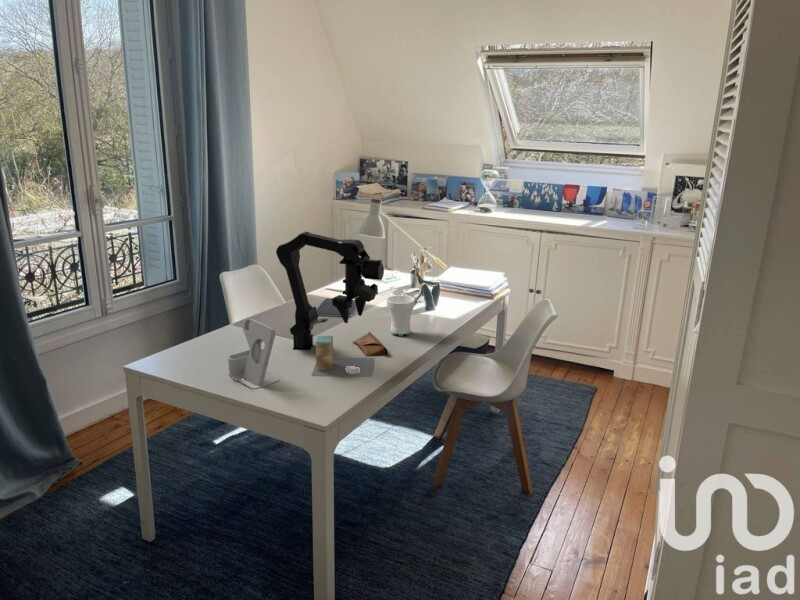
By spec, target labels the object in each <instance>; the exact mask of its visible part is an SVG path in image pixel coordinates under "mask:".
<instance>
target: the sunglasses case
mask: <svg viewBox="0 0 800 600" xmlns="http://www.w3.org/2000/svg"><path fill="white" fill-rule="evenodd" d="M352 344H353V345H355V346H357V347H358V349H359V350H360V351H361V353H362V354H363V355H364V356H365V358H369V357H378V356H385V355H387V356H388V355H389V351H388V349H387V348H386V346H384V344H383V343H382V342H381V341H380V340H379V339H378V338H377V337H376V336H375V335H374V334H372V333H371V331H368V332H367V333H366V334H364V335H363V336H361V337H359V338H358V339H356V340H354V341H352Z"/></svg>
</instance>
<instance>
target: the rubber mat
mask: <svg viewBox="0 0 800 600" xmlns="http://www.w3.org/2000/svg"><path fill="white" fill-rule="evenodd" d="M374 365H375V357H345V356H344V357H341V356H340V357H339V356H335V357H334V356H333V366H332V370H317V369H316V363H315V365H314V367H313V370H312V373H311V377H346V378H347V377H349V378H350V377H353V378H354V377H355V378H357V377H358V378H360V377H362V378H364V377H365V378H372V377H373V373H374ZM346 366H355V367H359V368H360V372H359V373H357V374H349V373H347V372H346V370H345V368H346Z"/></svg>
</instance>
